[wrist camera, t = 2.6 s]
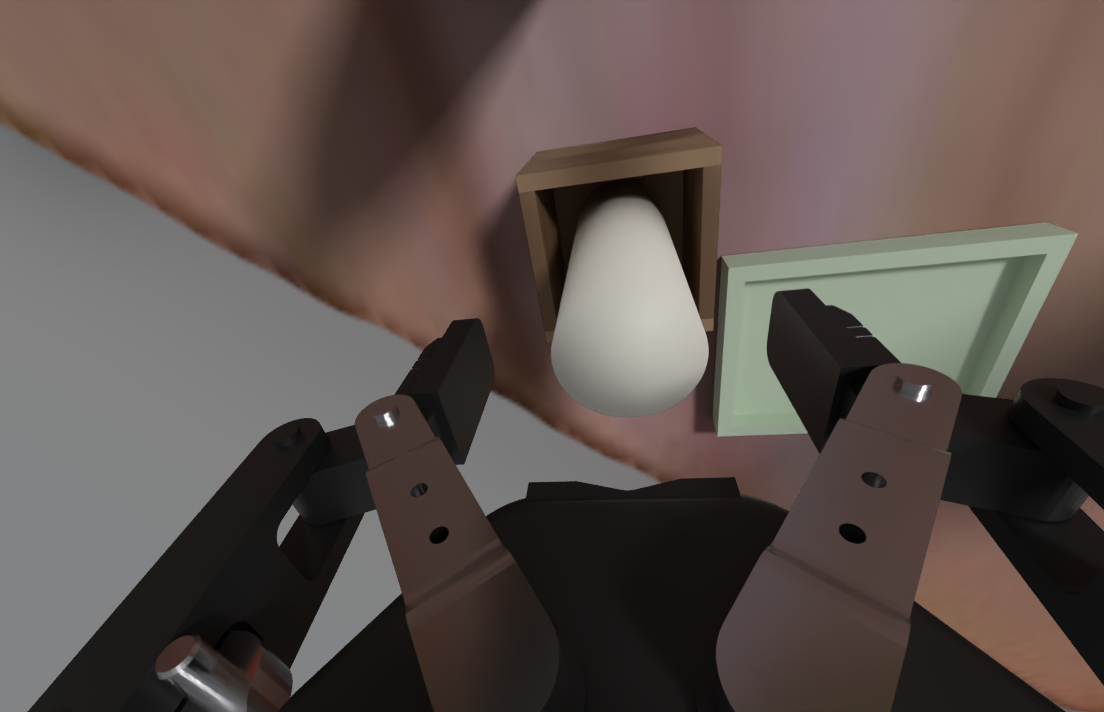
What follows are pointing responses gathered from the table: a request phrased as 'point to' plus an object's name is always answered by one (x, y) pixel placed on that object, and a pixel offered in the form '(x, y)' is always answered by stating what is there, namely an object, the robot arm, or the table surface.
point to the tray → (888, 309)
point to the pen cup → (652, 160)
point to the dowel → (626, 309)
